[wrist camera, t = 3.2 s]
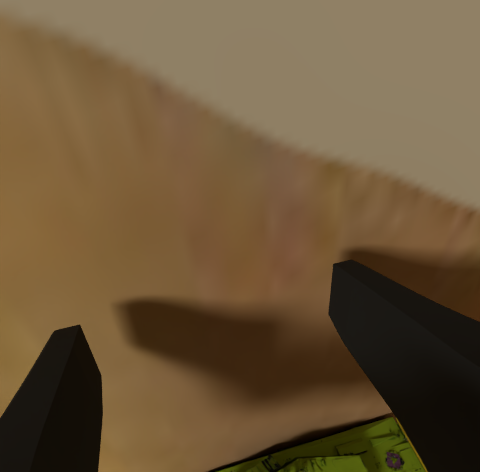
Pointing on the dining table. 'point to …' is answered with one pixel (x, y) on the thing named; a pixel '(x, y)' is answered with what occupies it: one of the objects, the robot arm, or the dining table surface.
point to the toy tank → (344, 453)
